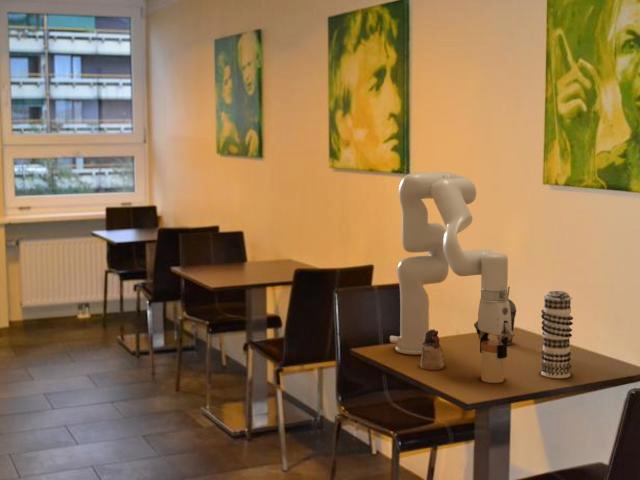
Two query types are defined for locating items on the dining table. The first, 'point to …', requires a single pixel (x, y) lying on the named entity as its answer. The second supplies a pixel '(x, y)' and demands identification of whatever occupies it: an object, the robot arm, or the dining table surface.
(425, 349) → the figurine
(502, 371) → the honey jar
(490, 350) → the jar lid
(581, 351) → the dining table surface
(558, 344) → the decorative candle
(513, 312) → the beverage cup
